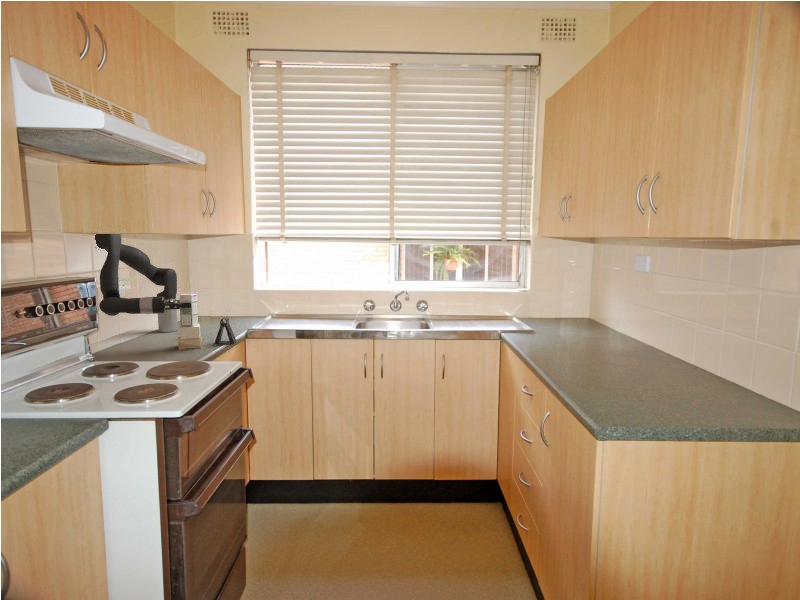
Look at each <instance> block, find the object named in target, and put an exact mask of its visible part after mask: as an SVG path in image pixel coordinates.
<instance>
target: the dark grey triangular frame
mask: <svg viewBox="0 0 800 600" xmlns="http://www.w3.org/2000/svg"><path fill="white" fill-rule="evenodd" d="M219 324H220V325H219V328H218V331H217V335H216V338H215V340H214V345H215V344H220V345H235V343H236V342H237V338H236V336H235V334H234V332H233V329H232V327H231V324H230V319H229V317H228V316H226V317H225V316H224V317H223V318H221V319H220V321H219ZM224 329H225V331H226V334H227V336H228V340H222V337H223V333H224Z"/></svg>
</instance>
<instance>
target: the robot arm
mask: <svg viewBox="0 0 800 600" xmlns="http://www.w3.org/2000/svg"><path fill="white" fill-rule="evenodd" d="M95 240H96V244H97V246H98V247H99V248H101V249H105V250H106V251H107V252H108V254H107V253H106V254H107V256H106V257H105V261H104V262H103V265H102V267H101V270H100V272H99V288H100V292H101V295H102V300H100V302H99V303H98V305H99V306H98V307H99V310H100V311H101V312H102V313H103V314H105V315H107V316H110V317H115V316H118V315H119V314H123V313H124V314H130V315H138V314H139V315H140V314H142V315H143V314H144V315H155V314H157V325H158V332H160V333H173V332H177V331H178V330H179V329H178V328H179V326H178V323H179V322H178V310H180V309H181V308H191V303H180V299H177V293H178V276H177V272H176V270H175V269H174V268H170V267H169V268H164V267H163V268H162V267H158V266H155V265H153V264H152V263H151V258H150V257H149V256H148V254H146V253H145V252H144V251H142V250H140V249H139V248H137V247H134V246H131V245H126V244H123V243H122V235H121V233H120V234H96V235H95ZM120 262H121V263H124V264H125V265H126V266H128V267H130V268H131V269H132V270H134V271H136V272H138V273H140V275H141V274H142V275H143V276H145V278H147V279H148V280H149V281H150V282H151V283H153V284H154V285H156V286H159V287H163V290H162V291H160V292H158V293H157V294H156V296H145V297H129V298H127V297H121V293H120V287H119V286H120V283H119V282H120V281H119V263H120Z"/></svg>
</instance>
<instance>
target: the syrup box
mask: <svg viewBox="0 0 800 600" xmlns="http://www.w3.org/2000/svg"><path fill="white" fill-rule="evenodd" d="M178 295H179V300H180V303H191V308H181V309H179V317H180V318H179V319H180V326H195V325H198V324H199V319H198V318H199V315H198V314H199V313H198V294H197V293H180V294H178Z"/></svg>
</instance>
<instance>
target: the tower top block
mask: <svg viewBox="0 0 800 600" xmlns="http://www.w3.org/2000/svg"><path fill="white" fill-rule="evenodd" d="M200 334H201V325H200V323H198V325H195V326H181V325H180V326H179V337H180V339H186V338H200Z"/></svg>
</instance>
